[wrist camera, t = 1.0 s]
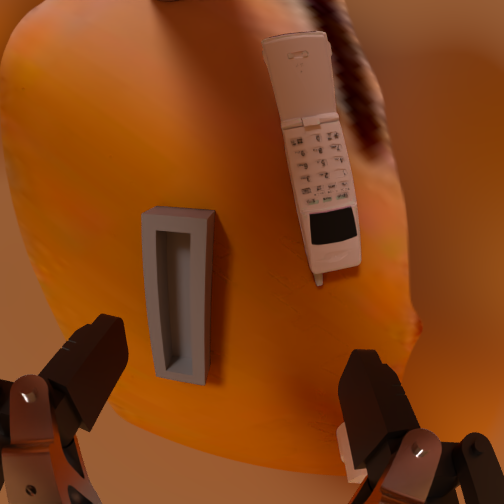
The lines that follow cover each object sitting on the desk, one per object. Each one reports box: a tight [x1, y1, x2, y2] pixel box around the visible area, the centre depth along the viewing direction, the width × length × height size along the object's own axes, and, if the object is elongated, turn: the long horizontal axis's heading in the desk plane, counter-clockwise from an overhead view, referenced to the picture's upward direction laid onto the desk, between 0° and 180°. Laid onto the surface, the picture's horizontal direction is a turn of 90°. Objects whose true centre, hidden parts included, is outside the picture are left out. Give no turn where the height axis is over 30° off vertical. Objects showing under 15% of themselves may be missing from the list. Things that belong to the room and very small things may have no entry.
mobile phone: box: [261, 31, 361, 286], centre depth 24 cm, size 6×6×25 cm
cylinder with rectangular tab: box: [336, 422, 368, 483], centre depth 34 cm, size 9×9×12 cm
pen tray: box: [142, 206, 215, 385], centre depth 30 cm, size 21×6×4 cm, turn 175°
